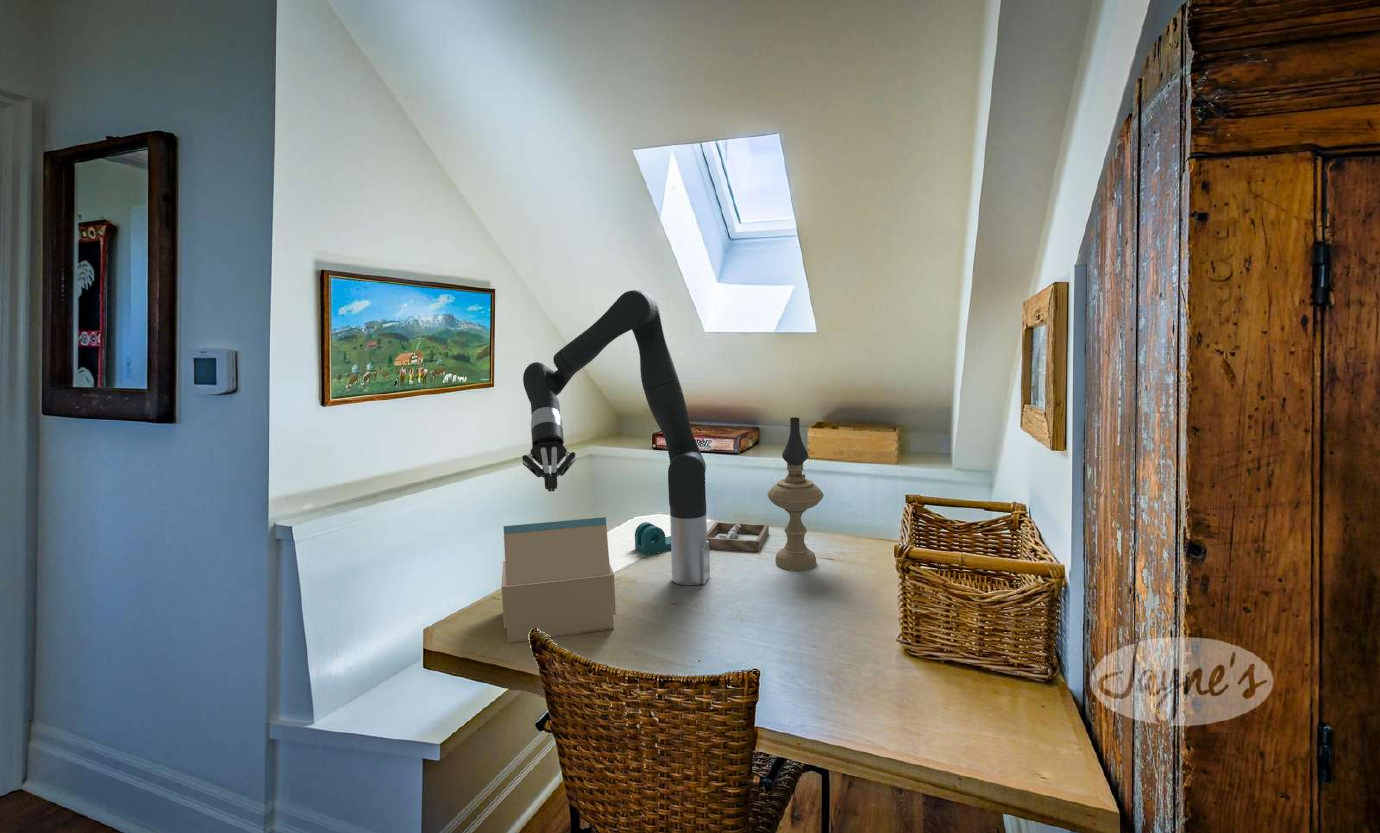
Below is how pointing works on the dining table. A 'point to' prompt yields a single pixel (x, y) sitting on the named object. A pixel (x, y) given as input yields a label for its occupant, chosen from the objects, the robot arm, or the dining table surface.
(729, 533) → the soldier figure
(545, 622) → the tan open box
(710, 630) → the dining table surface
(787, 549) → the oil lamp
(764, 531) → the wooden tray
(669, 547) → the bracket
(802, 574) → the dining table surface
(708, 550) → the robot arm
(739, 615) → the dining table surface
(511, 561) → the wooden box lid
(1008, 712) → the dining table surface
